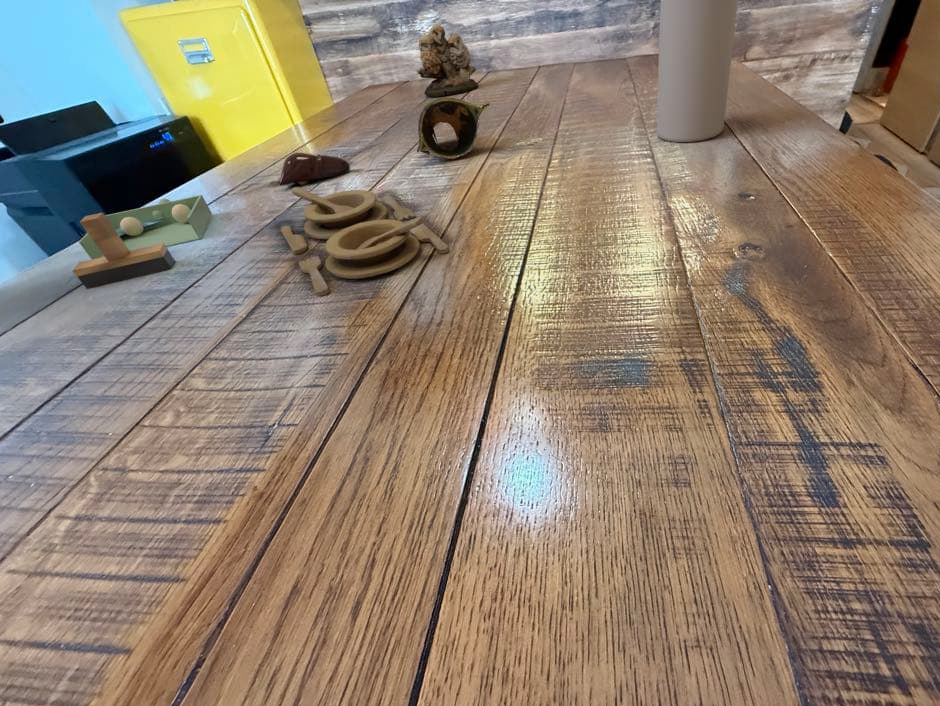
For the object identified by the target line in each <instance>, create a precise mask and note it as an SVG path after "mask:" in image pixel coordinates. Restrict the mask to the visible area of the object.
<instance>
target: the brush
mask: <svg viewBox="0 0 940 706" xmlns="http://www.w3.org/2000/svg"><path fill="white" fill-rule="evenodd" d="M105 215H106V214H105V213H104V212H98V213H94V214H90V215H85V216H84V217H83V218H82V219H81V220H80V221H79V223H80V225H81V226H82V228H83V229H84V230H85V232H86V234H87V233H88V234H89V236H90V237H91V238H92V240H93V241H94V243H95V244H96V245H97V247H98V248H99V249H100V251H101V252H102V253H103V255H104V256H105V257H100V258H96V259H88V260H83V261H80V262H78V263H77V264H76V265H75V266H74V268H73V269H72V270H71V271H72V272H73V274H74V275H75V276H76V277H77V278H78V279H79V281H80V282H81V284H82V285H83V286H84V288H85V289H86V290H87V289H90V288H95V287H100V286H104V285H108V284H112V283H116V282H121V281H126V280H129V279H134V278H139V277H143V276H146V275H150V274H151V275H152V274H154V273H159V272H163V271H167V270H171V269H172V268H173V266H174V265H175V262H176V260H175V258H174V257H173V255H172V254H171V252H170V250H169V249H168V247H166V246H165V244H164V243H162V244H158V245H153V246H149V247H145V248H140V249H136V250H131V251H129V250H128V248H127V247H126V245H125V244H124V242H123V241H122V240H121V238H120V237H119V236H120V235H119V233H118V232H117V231H116V229H114V228H113V226H112V225H111V224H110V222H109V221H108V219H107V218H106V216H105Z"/></svg>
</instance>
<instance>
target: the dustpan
mask: <svg viewBox="0 0 940 706" xmlns="http://www.w3.org/2000/svg"><path fill="white" fill-rule="evenodd" d="M178 204H183V205H186V206H188V207H189V208H190V209H191V212H190V213H189V215H188V217H187V219H188V221H189V222H188V223H181V222H178V221H177V220H175V219H174V217H173V216H172V208H173V207H174V206H175V205H178ZM104 215H105V216H106V218H107V219H108V221H109V222H110V224H111V225H112V226H113V228H114V229H115V230H119V229H121V227H120V223H121V221H122V219H124V218H126V217H133V218H136V219H138V220H139V221H140V222H141V223H142V224H146V223H151V224H148V225H146V226H143V232H142V233H141V234H140V235H138V236H130V235H127V234H126V233H123V234H120V235H119V237H120V238H121V240H122V241H123V242H124V244H125V245H126V247H127V248H128V250H129V251H131V250H136V249H140V248H145V247H149V246H153V245H158V244H162V243H164V244H165V246H166V247H167V248H168V247H173V246H176V245H180V244H184V243H185V244H186V243H189V242H194V241H198V240H202V239H203V237H204V235H205V232H206V231H207V229H208V226H209V223H210V222H211V219H212V217H213V212H212V210H211V209H210V207H209V205H208V204H207V201H206V199H205V198H204V195H202V194H199V195H195V196H190V197H185V198H180V199H176V200H170V199H168V198H162V199H160V200H159V202H158V203H157V204H152V205H147V206H144V207H143V206H142V207H138V208H134V209H128V210H124V211H119V212H115V213H110V214H104ZM152 222H154V223H152ZM78 243H79V245H80V246H81V248H82V249H83V250H84V251H85V252H86V254H87V256H88V257H89V258H90V260H92V259H96V258H100V257H105V256H104V255H103V253H102V252H101V251H100V249H99V248H98V247H97V245H96V244H95V243H94V241H93V240H92V238H91V237H90V236H89V234H88V233H87V232H86V233H85V234H84V236H83V237H81V238H80V240H79V241H78Z"/></svg>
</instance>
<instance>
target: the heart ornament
mask: <svg viewBox="0 0 940 706" xmlns="http://www.w3.org/2000/svg"><path fill="white" fill-rule="evenodd" d="M350 169H351V166H350V164H349V163H348V161H347V160H345V159H343V158H341V157H338V156H332V155H326V154H317V155H316V154H312V153H307V152H299V151H298V152H293V153H291V154H290V155H288V156H287V157H286V158H285V159H284V162H283V164H282V169H281V173H280V178H279V186H281V187H282V186H283V187H285V186H288V185H291V184H295V183H297V184H299V185H301V186H304V185H306V184H307V183H309V181H316V180H318V179H319V180H320V179H325V178H329V177H330V178H331V177H335V176H339V175H342V174H345V173H347V172H349V171H350Z"/></svg>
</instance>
